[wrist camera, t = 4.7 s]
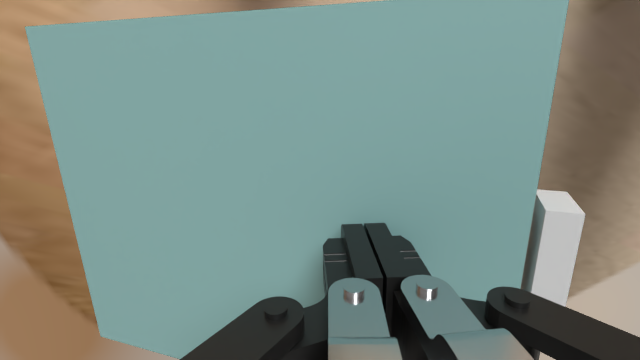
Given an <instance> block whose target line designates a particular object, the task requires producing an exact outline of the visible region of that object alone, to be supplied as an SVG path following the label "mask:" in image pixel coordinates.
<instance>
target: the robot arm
mask: <svg viewBox="0 0 640 360" xmlns="http://www.w3.org/2000/svg"><path fill="white" fill-rule="evenodd" d="M323 285H324V293H325V297H324V299H322V300H321V301H320V302H318V303H316V304H314V305H312V306H309V307H305V308H303V306H302V305H301V304H300V303H299V302H298V301H297V300H295V299H292V298H289V297H283V296H276V297H270V298H266V299H263V300H261V301H259V302H258V303H256V304H255V305H253V306H252V307H251V308H249V309H248V310H246V311H245V312H244V313H242V314H241V315H240V316H238V317H237V318H236V319H234V320H233V321H231V322H230V323H229V324H227V325H226V326H225V327H223V328H222V329H221V330H219V331H218V332H217V333H215V334H214V335H212V336H211V337H210V338H208V339H207V340H206V341H204V342H203V343H202V344H200V345H199V346H197V347H196V348H195V349H193V350H192V351H191V352H189V353H188V354H187V355H185V356H184V357H182V358H181V359H180V360H539V355H540V352H542V353H544V354H546V355H548V356H550V357H552V358H554V359H556V360H640V337H637V336H635V335H632V334H630V333H628V332H625V331H623V330H620V329H618V328H615V327H613V326H610V325H608V324H605V323H603V322H601V321H598V320H596V319H593V318H591V317H589V316H586V315H584V314H581V313H579V312H577V311H574V310H572V309H569V308H567V307H564V306H562V305H560V304H557V303H555V302H552V301H550V300H547V299H545V298H543V297H540V296H538V295H535V294H533V293H530V292H528V291H525V290H522V289H519V288H514V287H504V286H503V287H496V288H493V289H491V290H490V291H489V292H488V293H487V298H486V302H485V301H479V300H472V299H466V298H461V297H459V296H458V294H457V293H456V292H455V291H454V289H453V288H452V287H451V286H450V285H449V284H448V283H447V282H445V281H444V280H442V279H440V278H437V277H434V276H431V274H430V272H429V271H428V269H427V268H426V266H425V264H424V263H423V261H422V259H421V258H420V256H419V255H418V253H417V251H416V250H415V248H414V246H413V245H412V243H411V242H410V241H408V240H407V239H405V238H404V237H402V236H401V235H398V236H392V235H391V233H390V231H389V229H388V227H387V225H386V224H385V223H364V225H362V224H342V225H341V238H328V239H327V240H326V242H325V243H324V245H323Z"/></svg>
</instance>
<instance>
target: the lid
mask: <svg viewBox="0 0 640 360" xmlns="http://www.w3.org/2000/svg"><path fill="white" fill-rule="evenodd" d="M568 3H569V0H387V1H373V2H359V3H345V4H332V5H318V6H304V7H290V8H276V9H263V10H249V11H235V12H221V13H207V14H193V15H180V16H166V17H152V18H138V19H124V20H111V21H97V22H83V23H69V24H55V25H41V26H28V27H25V29H26V33H27V37H28V41H29V45H30V50H31V54H32V58H33V62H34V66H35V70H36V74H37V78H38V82H39V86H40V90H41V94H42V99H43V103H44V107H45V111H46V115H47V119H48V123H49V127H50V131H51V135H52V139H53V143H54V148H55V152H56V156H57V160H58V164H59V168H60V172H61V176H62V180H63V184H64V188H65V192H66V196H67V201H68V205H69V209H70V213H71V217H72V221H73V225H74V229H75V233H76V237H77V241H78V245H79V250H80V254H81V258H82V262H83V266H84V270H85V274H86V278H87V282H88V286H89V290H90V294H91V299H92V303H93V307H94V311H95V315H96V319H97V323H98V327H99V331H100V335H101V337H105V338H109V339H112V340H115V341H119V342H122V343H126V344H129V345H133V346H136V347H139V348H143V349H146V350H150V351H153V352H157V353H160V354H164V355H167V356H171V357H174V358H177V359H181V358H182V357H184V356H185V355H187V354H188V353H189V352H191V351H192V350H193V349H195V348H196V347H197V346H199V345H200V344H202V343H203V342H204V341H206V340H207V339H208V338H210V337H211V336H212V335H214V334H215V333H217V332H218V331H219V330H221V329H222V328H223V327H225V326H226V325H227V324H229V323H230V322H231V321H233V320H234V319H236V318H237V317H238V316H240V315H241V314H242V313H244V312H245V311H246V310H248V309H249V308H251V307H252V306H253V305H255V304H256V303H258V302H259V301H261V300H263V299H266V298H270V297H276V296H283V297H289V298H292V299H295V300H297V301H298V302H299V303H300V304H301V305H302V306H303V308H305V307H309V306H312V305H314V304H316V303H318V302H320V301H321V300H322V299H324V297H325V293H324V285H323V245H324V243H325V242H326V240H327V239H328V238H341V225H342V224H362V225H364V223H385V224H386V225H387V227H388V229H389V231H390V233H391V235H392V236H398V235H401V236H402V237H404V238H405V239H407V240H408V241H410V242H411V243H412V245H413V246H414V248H415V250H416V251H417V253H418V255H419V256H420V258H421V259H422V261H423V263H424V264H425V266H426V268H427V269H428V271H429V272H430V274H431V276H434V277H437V278H440V279H442V280H444V281H445V282H447V283H448V284H449V285H450V286H451V287H452V288H453V289H454V291H455V292H456V293H457V294H458V296H459V297H461V298H466V299H472V300H479V301H485V302H486V298H487V293H488V292H489V291H490V290H491V289H493V288H496V287H503V286H504V287H514V288H519V289H522V290H525V291H528V292H530V293H533V294H535V295H538V296H540V297H543V298H545V299H547V300H550V301H552V302H555V303H557V304H560V305H562V306H564V307H566V302H567V298H568V293H569V289H570V284H571V279H572V275H573V270H574V265H575V261H576V256H577V251H578V247H579V242H580V238H581V233H582V228H583V224H584V219H585V213H584V212H583V211H582V209H581V208H580V207H579V206H578V205H577V203H576V202H575V201H574V200H573V199H572V197H571V196H570V195H569V194H568V192H564V191H551V190H539V189H537V187H538V181H539V175H540V169H541V163H542V157H543V151H544V145H545V139H546V134H547V128H548V122H549V116H550V110H551V104H552V98H553V92H554V86H555V80H556V74H557V68H558V62H559V56H560V50H561V45H562V39H563V33H564V27H565V21H566V15H567V9H568Z"/></svg>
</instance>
